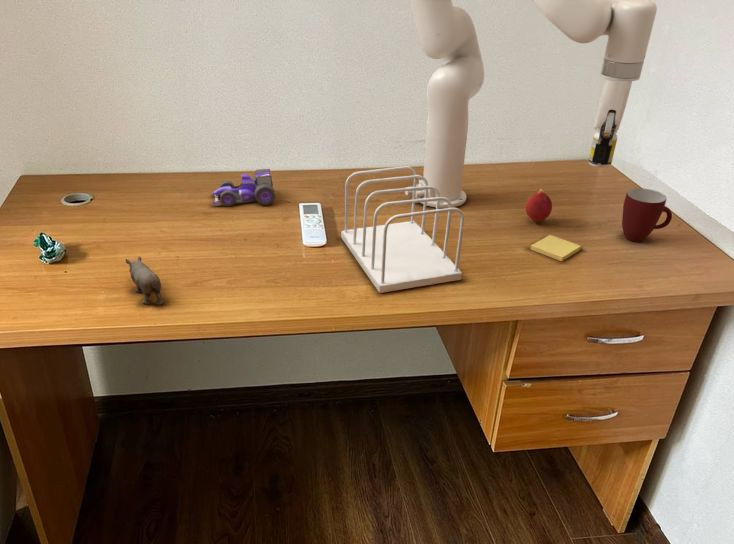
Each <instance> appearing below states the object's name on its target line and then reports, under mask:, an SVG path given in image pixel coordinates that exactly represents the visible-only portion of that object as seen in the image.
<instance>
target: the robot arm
mask: <svg viewBox="0 0 734 544" xmlns="http://www.w3.org/2000/svg"><path fill="white" fill-rule="evenodd" d="M531 1H532V2H533V3H534V4H535V7H536V8H537V9H538V10H539V12H541V13H542V14H543V15H544V17H545V18H546V19H547V20H548V21H549V22H550V23H552V25H554V26H555V27H556V28H557V29H558V30H559V31H560V32H561V33H562V34H564V35H565V36H566V37H567V38H568V39H570V40H571V41H573V42H575V43H578V44H589V43H592V42H595V41H596V40H597V39H599V38H600V37H602V36H607V37H608V38H607V43H606V47H605V51H604V56H603V60H602V64H601V70H600V73H599V76H600V77H601V78H603V80H604V81H603V84H602V88H601V91H600V96H599V100H598V105H597V109H596V114H595V118H594V123H593V129H594V130H595V131H597V128H601V129H600V134H599V139H598V143H596V146H595V150H594V155H593V159H592V162H593V163H600V164H608V161H609V157H610V152H611V148H612V145H611V144H612V139H613V135H614V132H615V131H617V132H618V131H619V128H620V126H621V123H622V120H623V117H624V114H625V111H626V108H627V104H628V100H629V96H630V92H631V88H632V86H633V85H632V84H633V82H635V81H638V80H640V79H641V74H642V70H643V67H644V63H645V58H646V55H647V51H648V47H649V43H650V39H651V35H652V31H653V27H654V24H655V19H656V15H657V9H658V8H657V4H656V3H655V2H654V1H652V0H531ZM409 3H410V9H411V12H412V17H413V21H414V25H415V28H416V33H417V36H418V41H419V44H420V47H421V50H422V52H423V53H424V54H425V55H426V57H428V58H430V59H433V60H440V61H441V65H440V67H438V68H437V69H435V71H434V72H433V73H432V75H431V76H430V78H429V81H428V82H427V88H426V106H427V119H426V120H427V121H426V133H425V134H426V136H425V148H424V150H425V151H424V159H423V174H422V176H423V177H424V178H426V180H427V182H428V186H433V187H435V188H437V190H438V191H439V193H440V197H445V198H447V199H448V200H449V201H450V202H451V204H452V208H458V207H459V206H462V205H464V204H465V203H466V201H467V196H468V195H467V193H466V192H465V191H464V190H463V189H462V184H463V176H464V167H465V158H466V150H467V140H468V132H469V131H468V130H469V101H470V100H471V99H472V98H474V96H476V95H477V94H478V93H479V92H480V90H481V89H482V88H483V85H484V82H485V67H484V63H483V57H482V54H481V50H480V44H479V40H478V36H477V32H476V27H475V24H474V21H473V20H472V17H471V16H470V14H469V13H468V12H467V11H466V10H465V9H464V8H462V7H460V6H457V5H453V2H452V0H409ZM603 125H604V126H606V127H605V129H603ZM612 127H613V130H611V129H612ZM603 132H604V134H602V133H603ZM610 133H611V135H610ZM608 144H609V145H608ZM421 186H425V182H424V180H422V179H418V183H416V187H421ZM410 187H413V186H406V187H405V188H410ZM404 194H405V195H406V196H413V191H404ZM424 196H425V190H416V196H415V199H424ZM434 197H437V193H436V192H435V191H434V190H432V189H428V195H427V198H434ZM419 203H420V204H421V205H424V202H419ZM436 203H437V201H429V202H427V205H426V207H431V208H436ZM445 208H449V205H448V203H447V202H446V201H443V200H440V205H439V209H445Z"/></svg>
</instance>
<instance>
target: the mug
mask: <svg viewBox="0 0 734 544" xmlns="http://www.w3.org/2000/svg"><path fill="white" fill-rule="evenodd" d="M666 203H667V196H666V195H665V194H664V193H662V192H660V191H658V190H654V189H650V188H632V189H628V191H627V192H626V194H625V196H624V201H623V206H622V217H621V228H622V232H623V236H624V238H625V239H626V240H628V241H630V242H634V243H639V242H640V243H641V242H643V241H645V239H647V238H648V237H649V236H650V235H651V234H652V232H653V231H654V230H660V229H664V228H665V227H667V226H668V225H669V224H670V223H671V221H672V219H673V213H672V210H671V209H670V208H669V207H667V206H666ZM663 213H665V215H666V218H665V220H663V222H662V223H660V224H657V223H658V222H659V220H660V218H661V216H662V214H663Z"/></svg>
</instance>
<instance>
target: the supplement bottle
mask: <svg viewBox="0 0 734 544" xmlns="http://www.w3.org/2000/svg"><path fill="white" fill-rule="evenodd" d="M605 127H606V126H604V125H603V129H605ZM600 129H601V128H597V130H596V132H595V133H594V134H593V138H592V143H591V147H590V152H589V157H588V164H589V165H590V166H591V167H595V168H602V169H604V168H609V167H611V165H612V163H613V159H614V155H615V151H616V146H617V142H618V135H617V133H618V130H617V131H615V132H614V135H613V139H612V144H611V145H612V148H611V152H610V157H609V161H608V164H600V163H593V162H592V159H593V155H594V150H595V146H596V143H598V139H599V134H600ZM611 130H613V127H612V129H611ZM602 134H604V132H603V133H602ZM610 135H611V133H610ZM608 145H609V144H608Z"/></svg>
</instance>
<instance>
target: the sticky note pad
mask: <svg viewBox="0 0 734 544" xmlns="http://www.w3.org/2000/svg"><path fill="white" fill-rule="evenodd" d="M581 248H582V245H580V244H577V243H574V242H571V241H568V240H565V239H563V238H560V237H558V236H555V235H552V234H549V235H547V236H545V237H543V238H542V239H540V240H538V241H537V242H534V243H533V244H531V245H530V250H531V251H533V252H535V253H539V254H541V255H544V256H545V257H546V256H547V257H549V258H552V259H554V260H557V261H560V262H563V261H565V260H567V259H568V258H570V257H571V256H574V254H576V253H578V252H580V251H581Z"/></svg>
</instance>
